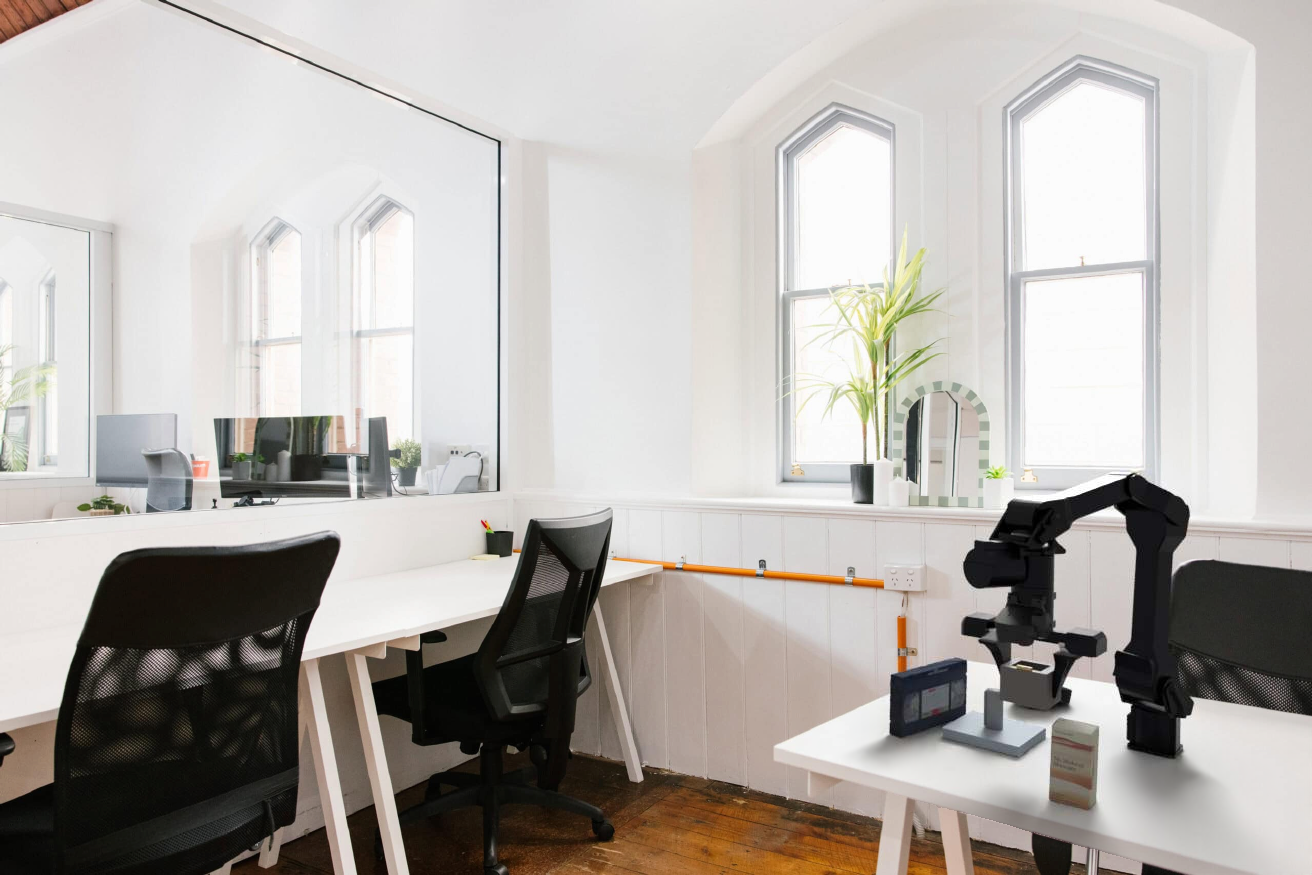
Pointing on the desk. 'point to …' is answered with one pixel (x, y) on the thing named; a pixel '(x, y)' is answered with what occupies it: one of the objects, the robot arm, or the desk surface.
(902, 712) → the vhs cassette tape
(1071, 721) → the skincare box
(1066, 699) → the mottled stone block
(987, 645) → the robot arm
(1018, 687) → the open cubby box
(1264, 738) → the desk surface
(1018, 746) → the square peg stand
